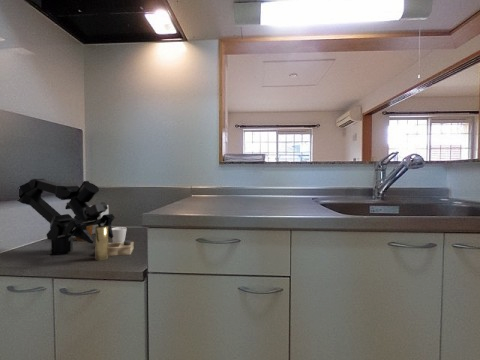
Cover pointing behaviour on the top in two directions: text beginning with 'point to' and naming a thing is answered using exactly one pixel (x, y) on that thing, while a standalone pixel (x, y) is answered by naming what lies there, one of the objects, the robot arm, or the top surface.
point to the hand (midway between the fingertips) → (102, 239)
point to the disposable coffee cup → (88, 232)
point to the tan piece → (101, 242)
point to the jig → (120, 248)
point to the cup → (119, 234)
